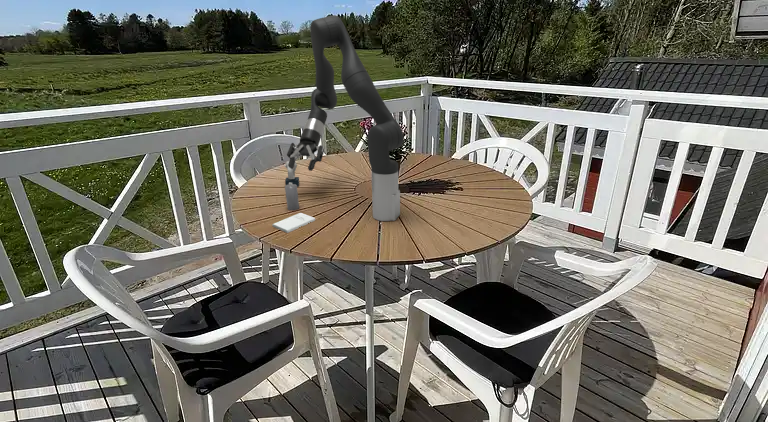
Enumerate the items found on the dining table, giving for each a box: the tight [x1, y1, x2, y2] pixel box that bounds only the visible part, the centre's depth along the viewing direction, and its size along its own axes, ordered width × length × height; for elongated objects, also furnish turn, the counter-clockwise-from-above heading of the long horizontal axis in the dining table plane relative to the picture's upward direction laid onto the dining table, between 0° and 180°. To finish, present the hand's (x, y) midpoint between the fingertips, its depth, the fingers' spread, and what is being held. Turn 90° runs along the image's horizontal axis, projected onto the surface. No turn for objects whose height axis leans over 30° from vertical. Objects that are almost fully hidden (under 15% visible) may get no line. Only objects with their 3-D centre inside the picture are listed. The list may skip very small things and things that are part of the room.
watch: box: [283, 160, 300, 188], centre depth 171 cm, size 6×8×11 cm
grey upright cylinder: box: [284, 183, 300, 211], centre depth 148 cm, size 4×4×10 cm
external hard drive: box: [272, 212, 316, 234], centre depth 138 cm, size 2×8×12 cm
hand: (300, 168), depth 151 cm, fingers open, 8 cm apart
